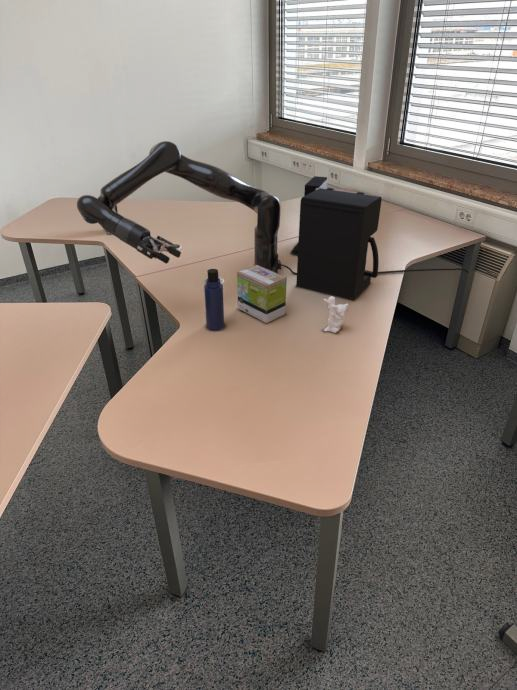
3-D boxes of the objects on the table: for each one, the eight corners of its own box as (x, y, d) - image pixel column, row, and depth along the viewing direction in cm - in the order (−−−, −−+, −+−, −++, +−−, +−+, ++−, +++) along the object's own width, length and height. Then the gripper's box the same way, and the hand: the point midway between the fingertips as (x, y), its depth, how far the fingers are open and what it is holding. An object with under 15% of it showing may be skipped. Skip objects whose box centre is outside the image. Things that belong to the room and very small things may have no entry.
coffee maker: (380, 284, 193) (394, 195, 175) (363, 303, 179) (376, 208, 161) (316, 270, 205) (322, 186, 187) (295, 286, 191) (300, 197, 173)
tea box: (236, 309, 174) (235, 271, 167) (256, 301, 180) (256, 263, 173) (266, 324, 165) (267, 284, 157) (286, 314, 171) (287, 275, 163)
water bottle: (223, 321, 167) (221, 266, 156) (225, 330, 162) (223, 273, 151) (206, 322, 166) (202, 267, 155) (207, 331, 161) (203, 275, 150)
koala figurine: (321, 334, 160) (323, 301, 153) (320, 324, 165) (323, 292, 159) (346, 335, 159) (350, 302, 153) (345, 325, 165) (349, 293, 158)
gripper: (124, 227, 151) (168, 252, 150) (146, 220, 164) (187, 243, 163) (117, 248, 155) (160, 273, 154) (139, 239, 167) (179, 262, 166)
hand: (174, 258), depth 158 cm, fingers open, 8 cm apart
